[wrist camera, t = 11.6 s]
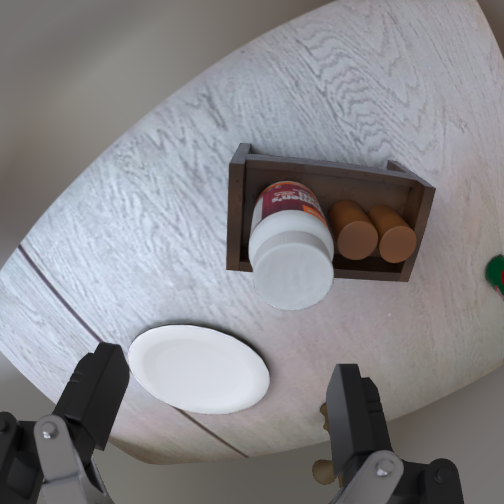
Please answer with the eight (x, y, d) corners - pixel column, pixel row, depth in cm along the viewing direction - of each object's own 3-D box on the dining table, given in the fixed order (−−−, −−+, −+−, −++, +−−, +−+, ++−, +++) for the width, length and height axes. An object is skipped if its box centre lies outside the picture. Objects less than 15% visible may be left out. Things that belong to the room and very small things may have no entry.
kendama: (359, 397, 54) (375, 487, 37) (327, 419, 58) (335, 502, 41) (338, 389, 53) (351, 485, 35) (305, 412, 57) (310, 501, 40)
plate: (106, 325, 48) (102, 331, 46) (251, 308, 44) (250, 316, 42) (164, 409, 59) (162, 415, 58) (281, 403, 56) (281, 410, 54)
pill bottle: (325, 186, 28) (356, 244, 18) (310, 245, 31) (327, 322, 21) (259, 173, 28) (253, 226, 18) (248, 234, 31) (238, 309, 21)
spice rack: (239, 142, 33) (225, 169, 22) (396, 161, 33) (446, 195, 22) (236, 225, 38) (223, 282, 27) (380, 237, 38) (415, 293, 27)
